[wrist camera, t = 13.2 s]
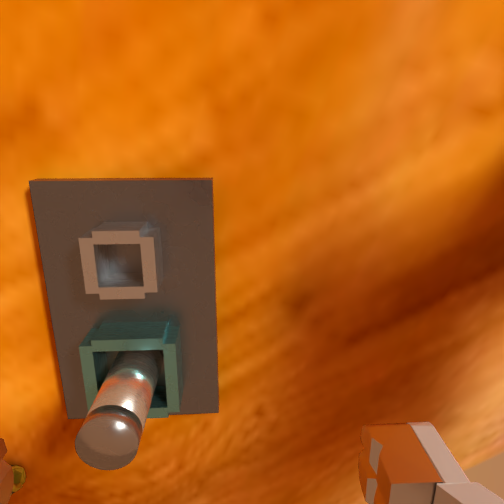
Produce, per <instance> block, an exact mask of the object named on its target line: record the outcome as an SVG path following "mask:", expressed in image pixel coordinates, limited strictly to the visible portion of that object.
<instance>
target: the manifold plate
mask: <svg viewBox="0 0 504 504" xmlns="http://www.w3.org/2000/svg"><path fill="white" fill-rule="evenodd" d="M29 186H30V192H31V198H32V204H33V210H34V216H35V222H36V228H37V234H38V240H39V246H40V252H41V258H42V264H43V270H44V276H45V282H46V288H47V295H48V301H49V307H50V313H51V319H52V325H53V331H54V337H55V343H56V349H57V355H58V361H59V367H60V373H61V379H62V385H63V391H64V397H65V403H66V409H67V415H68V419H81V418H86V416H87V414H88V412H89V410H90V408H91V406H92V404H93V402H94V400H95V398H96V396H97V394H98V392H99V390H100V388H101V386H102V384H103V382H104V380H105V378H106V376H107V374H108V372H109V370H110V368H111V366H112V364H113V362H114V360H115V358H116V356H117V354H118V352H119V351H132V350H159V351H160V353H161V355H162V366H161V369H160V373H159V376H158V380H157V383H156V387H155V390H154V394H153V397H152V401H151V404H150V408H149V411H148V415H147V418H166V417H168V416H169V415H176V414H200V413H219V387H218V352H217V316H216V281H215V245H214V210H213V178H89V179H35V180H31V181H29Z"/></svg>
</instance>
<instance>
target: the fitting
mask: <svg viewBox="0 0 504 504" xmlns="http://www.w3.org/2000/svg"><path fill="white" fill-rule="evenodd" d="M161 366H162V355H161V353H160V351H159V350H132V351H119V352H118V354H117V356H116V358H115V360H114V362H113V364H112V366H111V368H110V370H109V372H108V374H107V376H106V378H105V380H104V382H103V384H102V386H101V388H100V390H99V392H98V394H97V396H96V398H95V400H94V402H93V404H92V406H91V408H90V410H89V412H88V414H87V416H86V418H85V420H84V422H83V424H82V426H81V428H80V430H79V432H78V434H77V436H76V439H75V449H76V452H77V454H78V456H79V457H80V458H81V459H82V460H83V461H84V462H85V463H86V464H88V465H90V466H92V467H94V468H97V469H101V470H115V469H119V468H122V467H124V466H126V465H127V464H129V463H130V462H131V461H132V460H133V459H134V457H135V455H136V453H137V450H138V446H139V443H140V439H141V436H142V432H143V429H144V425H145V422H146V418H147V415H148V411H149V408H150V404H151V401H152V397H153V394H154V390H155V387H156V383H157V380H158V376H159V373H160V369H161Z"/></svg>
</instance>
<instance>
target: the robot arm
mask: <svg viewBox="0 0 504 504" xmlns="http://www.w3.org/2000/svg"><path fill="white" fill-rule="evenodd" d="M360 439H361V442H362V444H363V447H364V449H363V450H362V452H361V453H360V454H359V463H358V468H359V479H360V484H361V488H362V492H363V495H364V498H365V501H366V502H367V503H369V504H504V500H503V499H502V498H500V497H499V496H497V495H496V494H494V493H493V492H491V491H490V490H488V489H487V488H485V487H484V486H482V485H481V484H479V483H478V482H470V481H469V479H468V478H467V476H466V475H465V473H464V472H463V470H462V469H461V467H460V466H459V464H458V463H457V461H456V459H455V458H454V456H453V455H452V453H451V452H450V450H449V449H448V447H447V446H446V444H445V443H444V441H443V440H442V438H441V437H440V435H439V433H438V432H437V430H436V429H435V427H434V426H433V425H432V424H431V423H430V422H411V423H394V424H371V425H363V427H362V429H361V438H360ZM6 452H7V448H6V445H5V442H4V439H2V438H0V504H8V502H9V499H10V496H11V493H12V490H13V486H14V474H13V470H12V466H10V465H9V464H8V463H7V462H6V461H5V460H3V457H4V456H5V454H6Z"/></svg>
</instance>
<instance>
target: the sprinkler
mask: <svg viewBox="0 0 504 504" xmlns="http://www.w3.org/2000/svg"><path fill="white" fill-rule="evenodd" d="M12 470H13V474H14V486H13V490H12V493H11V495H12V494H13V493H14V492H16V491H18V490H19V489H20V488H22V487H23V486H22V485H23V483H24V482H25V480H26V474H25V471H24V468H23V467H20V466H17V465H16V466H13V465H12Z"/></svg>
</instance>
